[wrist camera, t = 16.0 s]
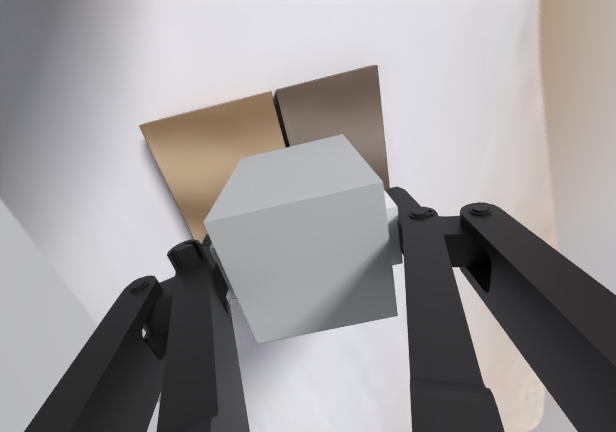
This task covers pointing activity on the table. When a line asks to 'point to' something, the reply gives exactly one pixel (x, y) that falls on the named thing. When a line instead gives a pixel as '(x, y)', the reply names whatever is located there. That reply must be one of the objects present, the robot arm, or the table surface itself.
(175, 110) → the table surface
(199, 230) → the board
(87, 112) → the table surface
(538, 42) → the table surface
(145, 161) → the table surface
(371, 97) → the laminate strip
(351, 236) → the block
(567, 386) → the robot arm
